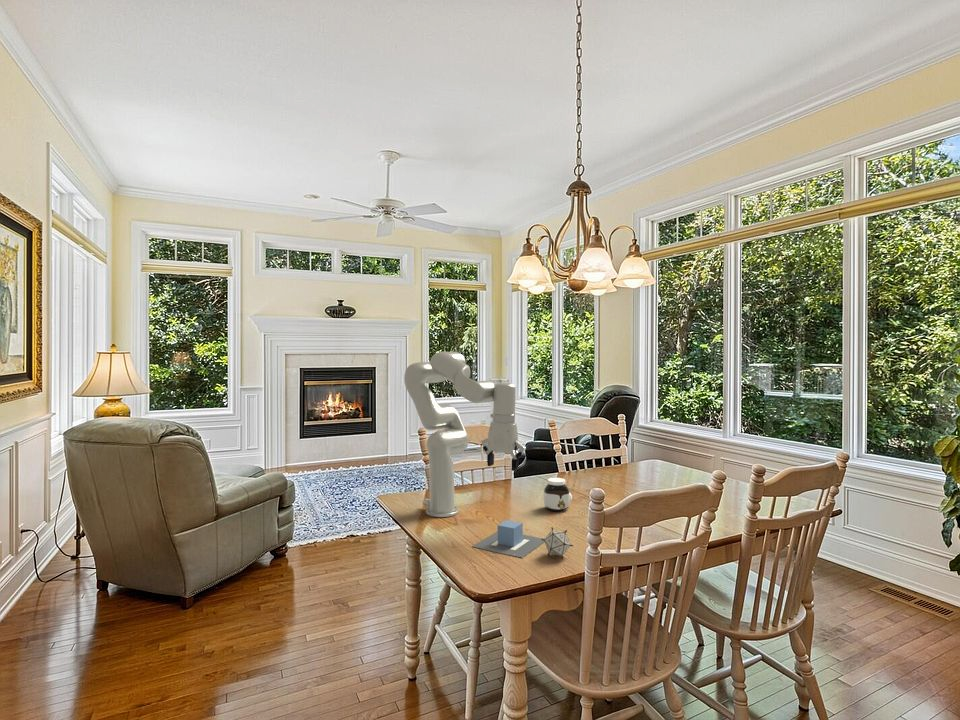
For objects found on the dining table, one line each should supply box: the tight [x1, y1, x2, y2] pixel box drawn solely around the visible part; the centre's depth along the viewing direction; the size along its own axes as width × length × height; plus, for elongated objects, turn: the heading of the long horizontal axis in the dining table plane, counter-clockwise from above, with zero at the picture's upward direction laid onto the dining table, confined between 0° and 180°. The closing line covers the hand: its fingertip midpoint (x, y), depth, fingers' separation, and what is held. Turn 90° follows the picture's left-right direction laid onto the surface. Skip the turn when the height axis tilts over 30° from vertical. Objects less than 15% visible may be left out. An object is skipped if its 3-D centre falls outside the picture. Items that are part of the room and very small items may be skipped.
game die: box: [541, 526, 574, 560], centre depth 161 cm, size 9×8×10 cm
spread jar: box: [543, 477, 573, 513], centre depth 210 cm, size 12×11×12 cm
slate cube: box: [497, 519, 524, 547], centre depth 172 cm, size 6×6×6 cm
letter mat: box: [472, 530, 545, 559], centre depth 172 cm, size 18×18×1 cm
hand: (502, 467), depth 183 cm, fingers open, 9 cm apart
